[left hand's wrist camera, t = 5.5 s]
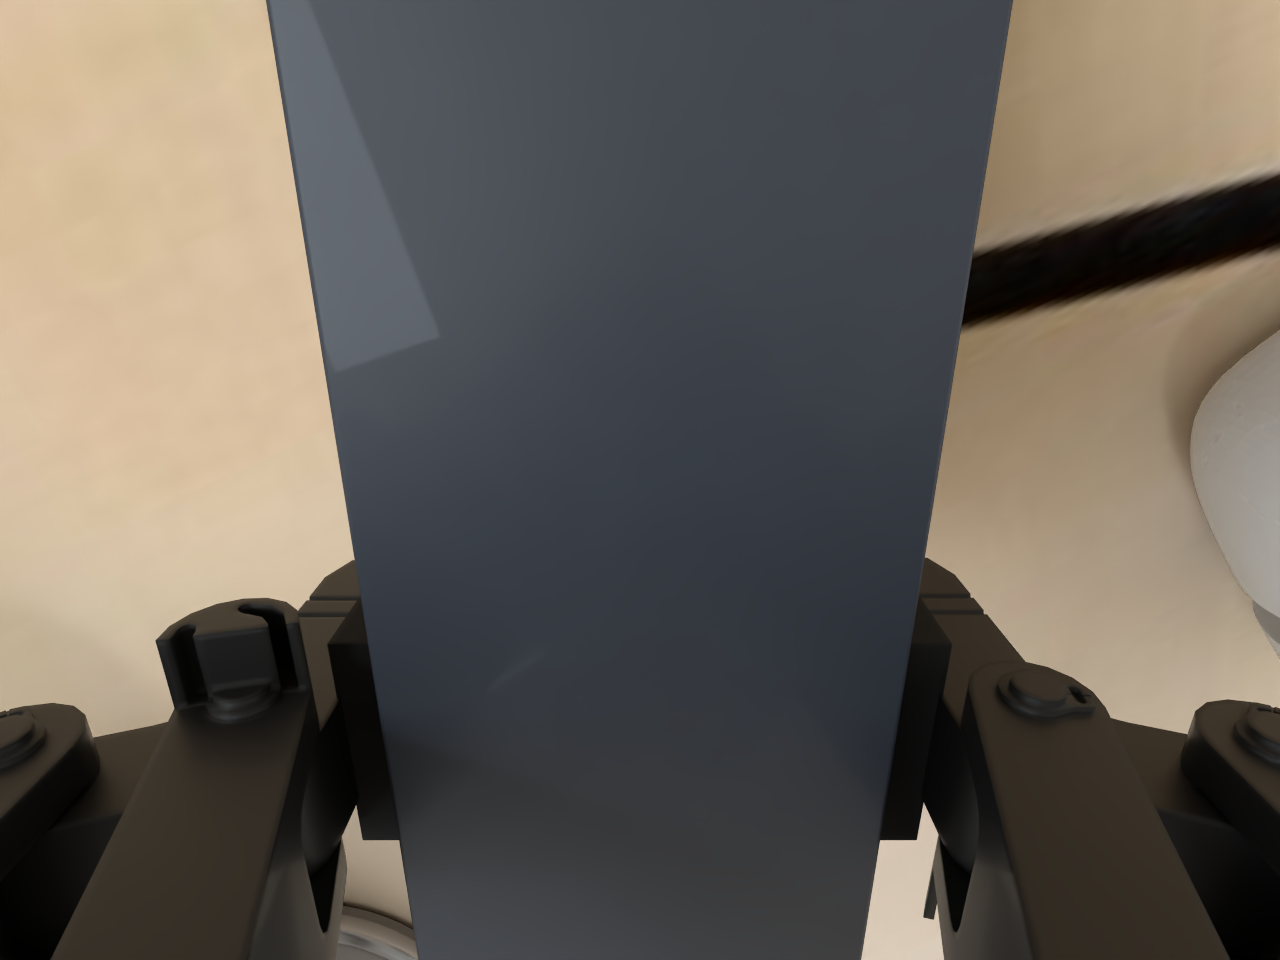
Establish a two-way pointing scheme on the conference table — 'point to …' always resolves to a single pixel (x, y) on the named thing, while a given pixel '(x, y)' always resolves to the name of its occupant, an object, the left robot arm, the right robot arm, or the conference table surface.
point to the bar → (639, 439)
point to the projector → (1244, 475)
